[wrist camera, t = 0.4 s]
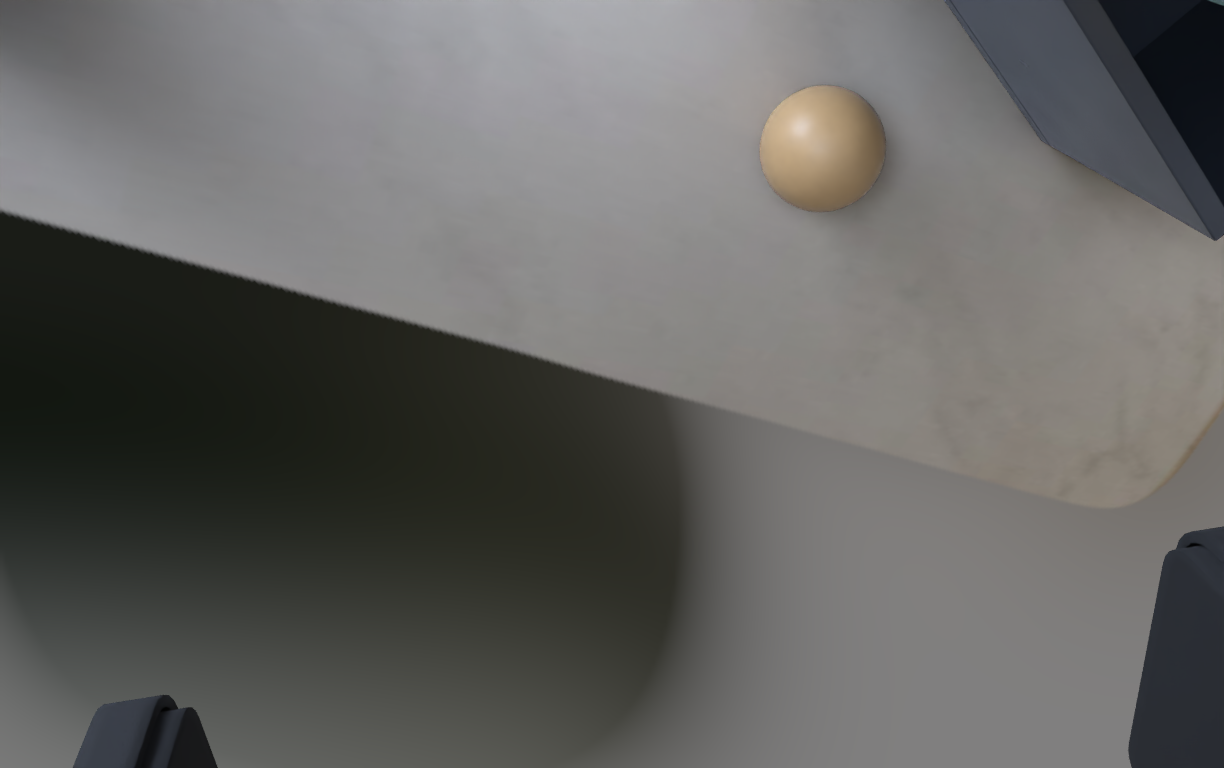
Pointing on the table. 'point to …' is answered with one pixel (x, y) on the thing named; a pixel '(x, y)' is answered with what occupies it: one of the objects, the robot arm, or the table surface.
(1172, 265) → the table surface
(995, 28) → the bin
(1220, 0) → the lid
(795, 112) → the light brown ball
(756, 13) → the table surface
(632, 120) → the table surface
